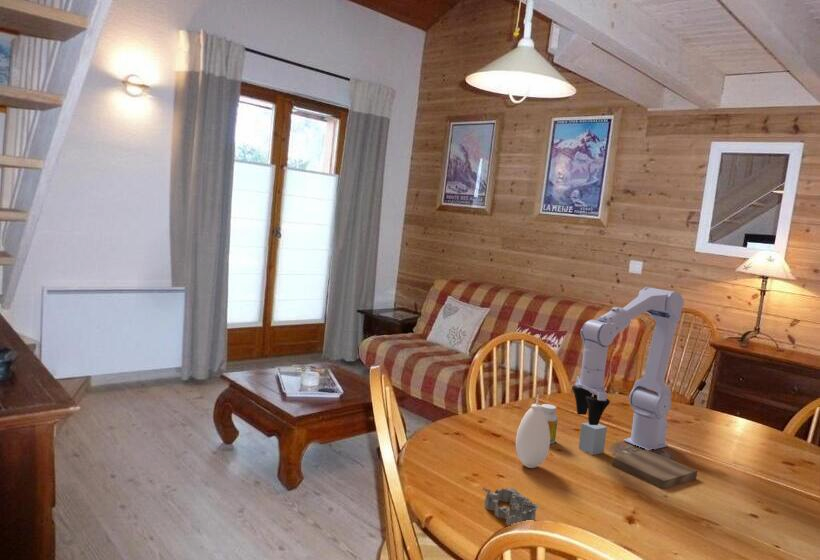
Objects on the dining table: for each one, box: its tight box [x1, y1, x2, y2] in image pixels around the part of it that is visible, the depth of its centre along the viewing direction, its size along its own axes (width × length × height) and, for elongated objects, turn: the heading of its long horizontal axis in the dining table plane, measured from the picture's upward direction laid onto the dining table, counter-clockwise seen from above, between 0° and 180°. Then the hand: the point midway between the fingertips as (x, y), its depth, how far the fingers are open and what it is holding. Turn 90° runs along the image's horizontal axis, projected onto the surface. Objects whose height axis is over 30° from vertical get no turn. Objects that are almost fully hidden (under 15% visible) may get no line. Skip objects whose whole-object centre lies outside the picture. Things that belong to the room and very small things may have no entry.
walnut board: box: [612, 449, 698, 490], centre depth 146 cm, size 14×14×2 cm
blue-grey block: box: [578, 421, 608, 456], centre depth 156 cm, size 5×5×7 cm
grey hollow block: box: [482, 486, 541, 527], centre depth 118 cm, size 11×8×4 cm
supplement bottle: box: [540, 403, 559, 445], centre depth 161 cm, size 5×5×10 cm
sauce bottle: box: [515, 394, 551, 469], centre depth 142 cm, size 8×8×18 cm
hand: (587, 419), depth 151 cm, fingers open, 7 cm apart
